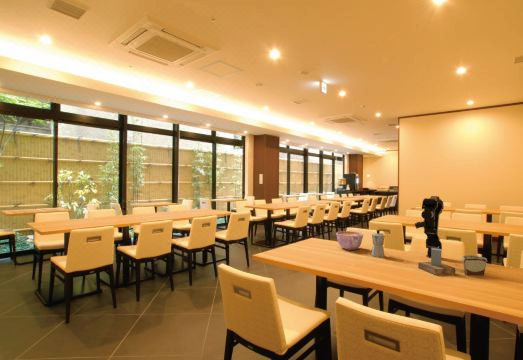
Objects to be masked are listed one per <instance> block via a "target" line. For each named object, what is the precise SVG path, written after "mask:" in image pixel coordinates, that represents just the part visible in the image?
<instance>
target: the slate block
mask: <svg viewBox="0 0 523 360" xmlns="http://www.w3.org/2000/svg"><path fill="white" fill-rule="evenodd" d="M442 250H443V249H442ZM442 250H441V249H436V248H431V258H430V262H431V265H434V266H441V263H442V254H443V251H442Z"/></svg>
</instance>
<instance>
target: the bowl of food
mask: <svg viewBox="0 0 523 360" xmlns="http://www.w3.org/2000/svg"><path fill="white" fill-rule="evenodd" d="M335 234H336V238H337V243H338V245H339V246H340V247H341V248H343V249H344V250H348V251H355V250H357V249H358V248H360V246H361V245H362V242H363V238H364V233H362V232H359V231H350V230H349V231H348V230H346V231H345V230H342V231H341V230H339V231H337V232H336V233H335Z"/></svg>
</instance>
